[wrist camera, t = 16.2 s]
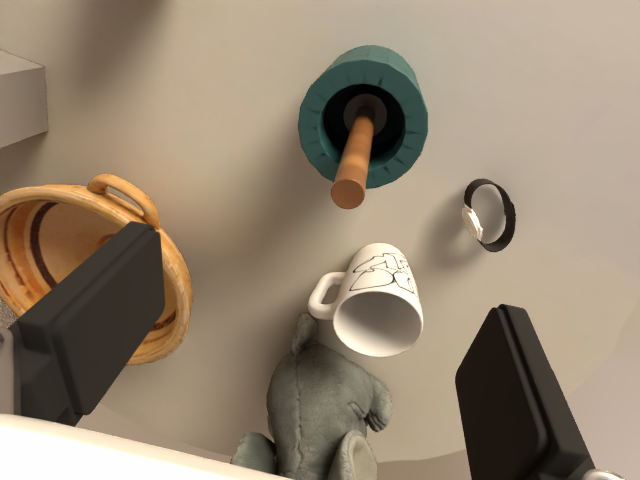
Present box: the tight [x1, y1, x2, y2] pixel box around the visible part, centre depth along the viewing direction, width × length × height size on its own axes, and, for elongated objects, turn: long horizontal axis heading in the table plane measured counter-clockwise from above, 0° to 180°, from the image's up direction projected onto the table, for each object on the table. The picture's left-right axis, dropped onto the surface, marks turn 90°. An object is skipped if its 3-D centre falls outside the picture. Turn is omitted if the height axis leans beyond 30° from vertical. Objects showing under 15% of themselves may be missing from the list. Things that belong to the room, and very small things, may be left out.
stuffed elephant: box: [230, 313, 392, 480], centre depth 45 cm, size 19×21×27 cm
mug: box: [308, 243, 423, 357], centre depth 41 cm, size 11×8×10 cm
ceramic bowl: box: [0, 174, 193, 365], centre depth 46 cm, size 30×24×8 cm
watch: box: [462, 179, 516, 252], centre depth 38 cm, size 8×5×4 cm, turn 25°
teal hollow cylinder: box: [298, 46, 428, 189], centre depth 32 cm, size 9×9×10 cm
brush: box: [331, 84, 388, 209], centre depth 27 cm, size 4×4×20 cm
